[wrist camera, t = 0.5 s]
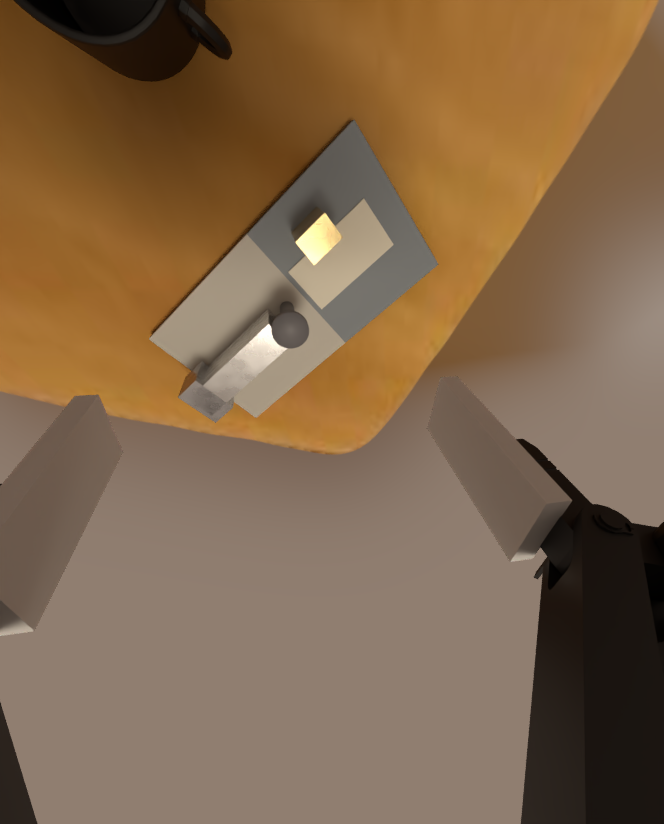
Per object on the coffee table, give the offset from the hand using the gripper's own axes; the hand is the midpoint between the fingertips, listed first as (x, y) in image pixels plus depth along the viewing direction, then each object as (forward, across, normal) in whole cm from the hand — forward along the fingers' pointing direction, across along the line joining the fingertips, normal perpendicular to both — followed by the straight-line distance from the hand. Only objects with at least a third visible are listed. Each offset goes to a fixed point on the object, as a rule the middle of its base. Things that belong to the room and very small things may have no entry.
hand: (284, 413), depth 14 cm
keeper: (+22, +4, +4) cm, 23 cm away
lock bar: (+22, -4, -8) cm, 23 cm away
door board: (+24, +2, -3) cm, 24 cm away
